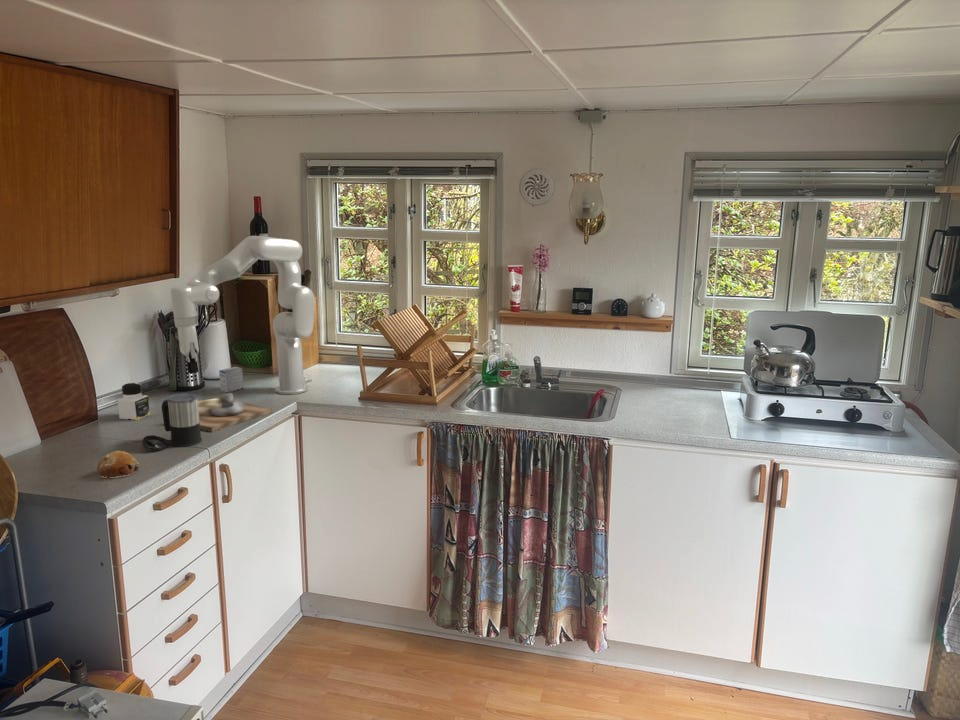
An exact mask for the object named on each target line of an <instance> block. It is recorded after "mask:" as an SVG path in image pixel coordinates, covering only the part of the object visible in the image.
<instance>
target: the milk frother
mask: <svg viewBox="0 0 960 720" xmlns="http://www.w3.org/2000/svg"><path fill="white" fill-rule="evenodd" d="M198 398H199V395H198V394H195V393H178V394H174V395H170V396H168V397H166V399H165V400H163V402H162V404H161V413H162V420H163V427H164V430H165V432H170V439H166V438H164V437H161V436H157V435H154V434H153V435H145V436H144V437H143V438H142V442H141V444H142V446H143V448H145V449H147V450H150V451H151V450H152V451H161V450H163V449H165V448H167V445H168V444H167V442H170V445H172V446H173V447H189V446H194V445H197V444H200V443H201V442H202V441H203V439H202V436H201V435H202V434H201V429H200V424H199V409H198V401H199V399H198ZM156 441H158V442H160V443H161V445H159V446H158V442H156Z"/></svg>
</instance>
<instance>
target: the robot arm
mask: <svg viewBox="0 0 960 720" xmlns="http://www.w3.org/2000/svg"><path fill="white" fill-rule="evenodd" d="M302 256H303V247H302V245H301V243H300V242H299V241H297V240H295V239H289V238H288V239H286V238H280V237H279V238H278V237H272V236H265V235H263V236H262V235H250V236H249V235H248V236H247V237H245V238H244V239H243V240H241V242H239V243H238V244H237V245H236V246H235V247H234V248H233V249H232V250H230V251H229V253H227V254H226V255H225V256H224V257H222V259H220V260H218V261H216V262H214V263H212V264H211V265H209V266H207V267H205V268H204V269H202V270H200V271H199V272H198V273H197V274H195V275H194V277H192V278H191V279H190V280H189V281H188V282H187V283H186V285H176V286H174V287H172V288H171V289H170V298H171V299H170V300H171V305H172V313H173V319H174V326H175V328H177V333H178V343H179V351H180V353H181V354H182V355H184V356H185V358H186V366H187V372H188V374H197V373H199V367H198V360H197V355H198V354H199V353H200V352H199V351H200V350H199V349H200V348H199V341H198V334H197V328H196V327H197V326H199V318H198V311H197V306H207V305H212V304H214V303H216V302H217V301H218V300H219V298H220V290H219V289H218V287H217V286H218V285H219V284H222V283H224V282H226V281H232V280H235V279H238V278H239V277H241V276H242V275H243V274H244V273H245V272H246V271H247V270H248V269H250V267H251V266H253V265H254V264H255V263H256V262H257V261H258V260H261V261H262V260H264V261H265V260H266V261H272V262H273V263H274V264H275V266H276V268H277V271H278V280H277V281H278V285H277V287H278V288H277V303H278V305H280V306H281V307H282V308H284V309H288V310H292V312H290V311H281V312H279V313H278V314H276V315H275V316H274V318H273V322H272V329H273V334H274V338H275V343H276V355H277V369H278V383H279V386H277V387H275V392H276V394H279V395H296V394H302V393H305V392H307V391H308V390H309V385H307V383H310V382H312V381H313V378H312V377H311V376H309V377H304V366H303V364H304V363H303V347H302V341H301V340H304V339H307V338H309V337H310V336H311V334H312V333H313V330H314V325H315V324H314V323H315V312H316V311H315V307H316V301H315V300H316V299H315V295H314V292H313V291H312V289H310V287H308V286H305V285H302V271H301V270H302V269H301V266H300V263H299V262H298V261H299V260H300V259H301V258H302Z"/></svg>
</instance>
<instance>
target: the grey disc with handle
mask: <svg viewBox="0 0 960 720" xmlns="http://www.w3.org/2000/svg"><path fill="white" fill-rule="evenodd" d="M198 409H199V411H202V410H208V409H209V413H210V414H211V415H214V416H230V415H236V414H240V413H242V412H244V411H245V402H243V401H237V400H235V401H234V394H233V393H231V392H228V393H226V392H224V393H221V394H219V397H218V398H217V397H216V398H209V399H204V400H203V399H202V400H198Z"/></svg>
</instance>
